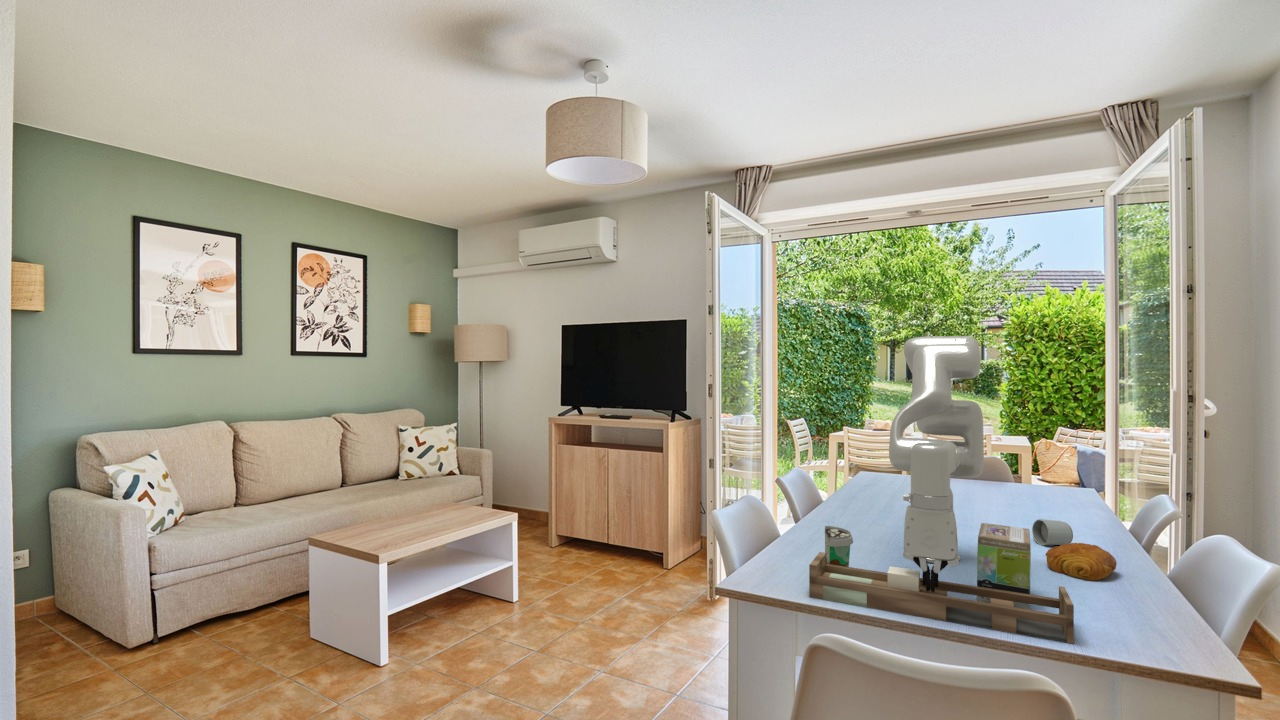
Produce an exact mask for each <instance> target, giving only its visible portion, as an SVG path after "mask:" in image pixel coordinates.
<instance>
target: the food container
mask: <svg viewBox="0 0 1280 720" xmlns="http://www.w3.org/2000/svg"><path fill="white" fill-rule="evenodd" d="M853 543H854V539H853V535H852V532H851V531H850V530H848V529H846V528H842V527H839V526H832V525H824V550H825V552H824V553H826V564H832V565H838V566H845V567H850V556H851V555H850V552H851V545H852V544H853Z"/></svg>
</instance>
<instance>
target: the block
mask: <svg viewBox="0 0 1280 720" xmlns="http://www.w3.org/2000/svg"><path fill="white" fill-rule="evenodd" d="M920 570H921V569H912V568H906V567H905V568H903V567H898V566H889V568H888V571H887V573H888V587H892V588H899V589H905V590H911V591H917V592H919V591H920V578H921V576H920V574H921V572H920Z"/></svg>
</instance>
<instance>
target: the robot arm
mask: <svg viewBox="0 0 1280 720" xmlns="http://www.w3.org/2000/svg"><path fill="white" fill-rule="evenodd" d="M980 352H981V351H980V347H979V344H978V341H977V339H976V338H975V337H973V336H970V335H951V336H950V335H948V336H947V335H943V336H942V335H939V336H937V335H936V336H935V335H934V336H933V335H932V336H916V337H912V338H909V339H907V340H906V341H905V342H904V345H903V355H904V358H905V361H906V364H907V366H908V369H909V370H910V373H911V376H912V380H911V381H912V383H911V400H909V401H908V402H907V403H905V404H904V405H903V406H902V407H901V408H900V409H899V411H898V412H897V413H896V414H895V416H894V418H893V419H892V422H891V426H890V429H889V446H888V457H889V462H890V464H891V466H892V468H893V469H895V470H898V471H902V472H910V492H909V493H906V494H903V498H902V500H903V501H906V502H908V503H909V505H908V506H906V510H905V515H904V525H903V527H904V528H903V553H902V557H903V558H904V559H905V560H909V561H911V562H914V563H915V564H916V565H917V566H918V567H919V568H920V570H921V571H922V578H923V585H925V586H926V591H930V579H931V591H932V592H935V587H938V581H939V573H940V572H941V571H942V570H944V569H945V568H946V567H952V566H958V565H959V564H960V561H961V556H960V554H959V553H958V550H959V547H958V545H959V544H958V527H957V521H956V515H955V511H954V493H953V491H952V488H951V477H953V478H966V479H967V478H969V479H971V478H972V479H975V478H978V477H980V476H981V475H982V474H983V471H984V465H985V459H984V457H985V453H984V452H985V451H984V450H985V449H984V448H985V447H984V445H985V444H984V442H985V441H984V416H983V410H982V408H981V406H980V405H979V404H978V403H977V402H975V401H973V400H965V399H964V400H963V399H962V400H961V399H958V400H956V399H952V397H953V396H952V379H974V378H977V376H979V373H980V369H981V361H982V360H981V358H982V357H981V353H980ZM913 423H916V427H917V429H918V431H919V432H921V433H922V434H925V435H932V436H949V437H961V438H962V439H963V441H961V440H947V439H933V438H921V437H920V438H918V437H917V438H916V437H903V435H904V432H905V430H906V429H907V428H908V427H909V426H910V425H912V424H913ZM928 563H932V564H933V566H932V567H931V568H930V566H929V564H928Z"/></svg>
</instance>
